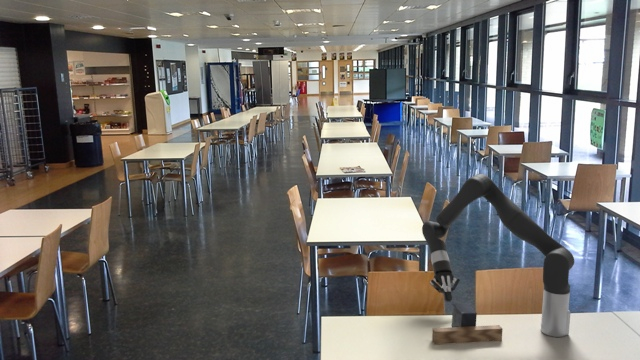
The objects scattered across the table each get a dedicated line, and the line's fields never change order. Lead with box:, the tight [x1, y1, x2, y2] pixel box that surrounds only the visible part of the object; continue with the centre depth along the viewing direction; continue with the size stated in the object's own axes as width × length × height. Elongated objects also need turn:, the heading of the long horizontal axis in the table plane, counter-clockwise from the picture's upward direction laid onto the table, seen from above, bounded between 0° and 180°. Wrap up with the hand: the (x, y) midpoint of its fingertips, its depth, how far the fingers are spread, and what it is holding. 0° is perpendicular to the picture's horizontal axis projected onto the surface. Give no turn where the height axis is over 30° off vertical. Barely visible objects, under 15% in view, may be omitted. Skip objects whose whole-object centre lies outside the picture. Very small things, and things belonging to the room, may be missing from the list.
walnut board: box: [431, 324, 503, 345], centre depth 206 cm, size 26×3×5 cm, turn 95°
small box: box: [451, 301, 478, 327], centre depth 213 cm, size 11×6×10 cm, turn 5°
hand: (449, 301), depth 226 cm, fingers closed
